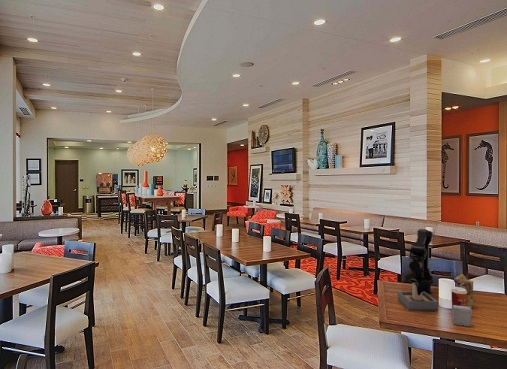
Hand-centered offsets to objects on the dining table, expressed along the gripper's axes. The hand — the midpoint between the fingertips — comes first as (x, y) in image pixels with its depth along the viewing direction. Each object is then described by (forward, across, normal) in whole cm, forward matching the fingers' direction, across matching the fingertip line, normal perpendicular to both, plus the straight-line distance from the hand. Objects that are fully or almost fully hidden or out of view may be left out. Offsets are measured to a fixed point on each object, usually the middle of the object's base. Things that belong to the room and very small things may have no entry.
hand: (417, 293), depth 200 cm
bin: (+6, 0, 0) cm, 7 cm away
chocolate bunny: (+7, -12, +32) cm, 35 cm away
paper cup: (+7, +12, +17) cm, 22 cm away
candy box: (+7, 0, +26) cm, 27 cm away
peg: (+3, 0, 0) cm, 3 cm away
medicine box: (+7, +24, +12) cm, 28 cm away
